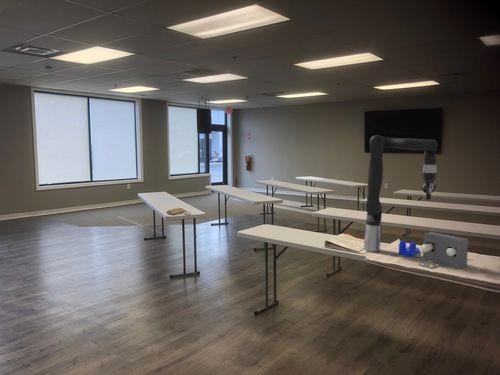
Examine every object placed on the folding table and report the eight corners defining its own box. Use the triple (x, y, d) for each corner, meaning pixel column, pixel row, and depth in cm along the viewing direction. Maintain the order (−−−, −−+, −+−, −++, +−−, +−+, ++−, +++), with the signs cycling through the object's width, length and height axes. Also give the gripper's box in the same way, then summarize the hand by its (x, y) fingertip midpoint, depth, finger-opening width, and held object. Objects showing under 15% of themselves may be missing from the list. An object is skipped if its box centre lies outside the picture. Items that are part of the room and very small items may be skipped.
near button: (453, 256, 217) (454, 249, 217) (446, 255, 221) (446, 247, 221) (461, 254, 222) (462, 247, 222) (454, 252, 226) (454, 245, 225)
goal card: (431, 268, 218) (431, 267, 218) (418, 265, 225) (418, 264, 225) (437, 267, 221) (437, 265, 221) (424, 263, 228) (424, 262, 228)
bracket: (412, 257, 241) (412, 243, 240) (398, 255, 246) (399, 241, 245) (421, 251, 254) (421, 237, 254) (408, 249, 260) (408, 236, 259)
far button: (427, 252, 226) (427, 245, 225) (420, 251, 229) (420, 243, 229) (435, 250, 230) (436, 243, 230) (428, 249, 234) (429, 241, 233)
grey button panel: (459, 269, 217) (460, 241, 216) (422, 259, 235) (423, 233, 234) (466, 266, 222) (468, 239, 220) (430, 257, 240) (431, 232, 238)
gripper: (430, 171, 248) (428, 198, 250) (417, 172, 241) (416, 199, 243) (441, 171, 242) (440, 199, 244) (429, 172, 235) (427, 201, 237)
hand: (428, 199), depth 243 cm, fingers closed
